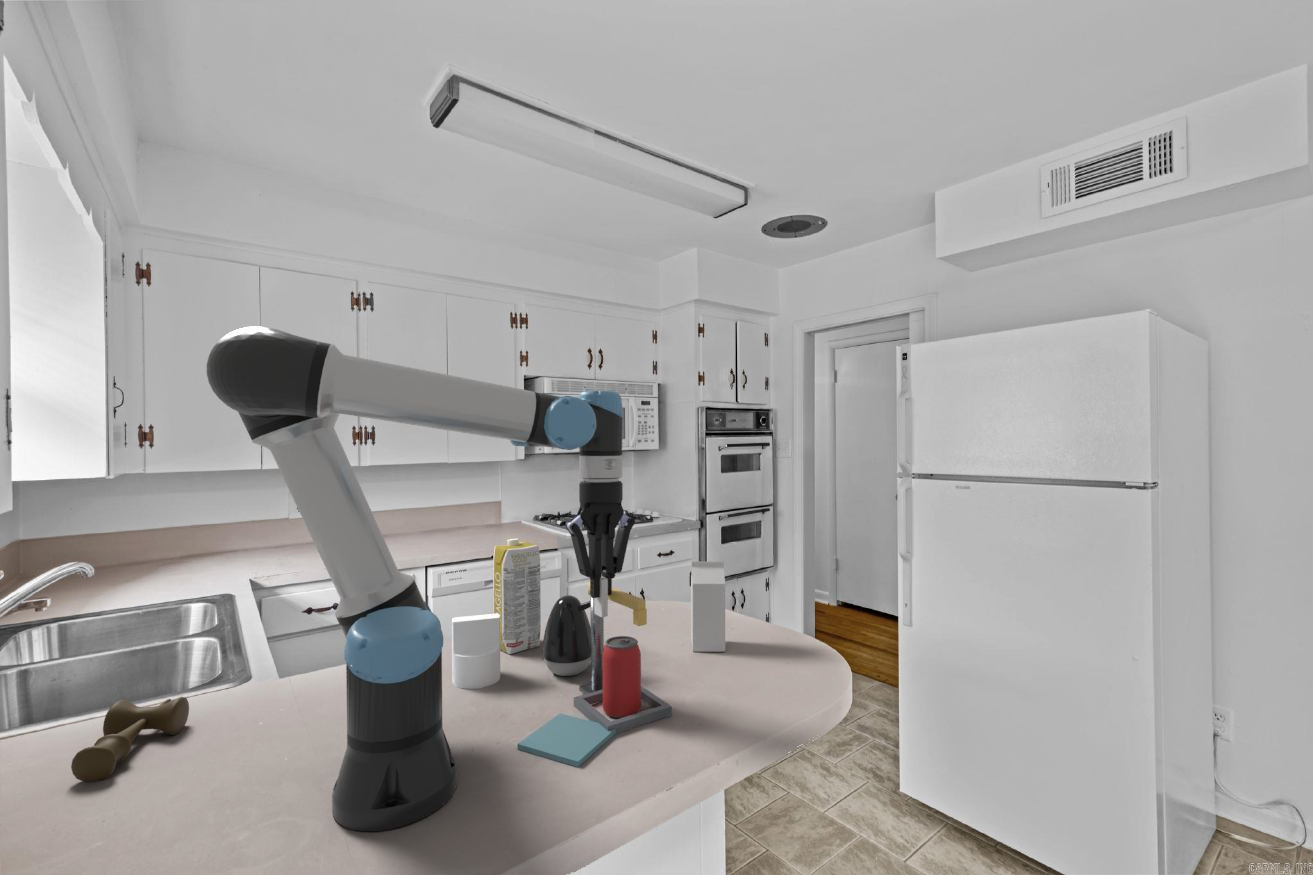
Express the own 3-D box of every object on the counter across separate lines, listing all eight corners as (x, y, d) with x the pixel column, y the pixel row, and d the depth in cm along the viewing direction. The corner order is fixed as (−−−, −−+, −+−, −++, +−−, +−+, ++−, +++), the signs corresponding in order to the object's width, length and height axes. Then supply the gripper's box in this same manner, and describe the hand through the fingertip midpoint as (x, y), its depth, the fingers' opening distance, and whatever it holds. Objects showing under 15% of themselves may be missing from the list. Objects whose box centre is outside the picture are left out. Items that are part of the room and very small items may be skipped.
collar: (672, 715, 102) (672, 706, 102) (607, 735, 95) (607, 726, 95) (633, 688, 112) (633, 680, 112) (573, 705, 105) (573, 697, 105)
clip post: (615, 693, 110) (615, 596, 110) (591, 699, 108) (591, 601, 107) (602, 683, 115) (602, 590, 114) (579, 689, 112) (578, 594, 112)
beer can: (648, 707, 105) (648, 639, 105) (626, 723, 99) (626, 651, 99) (617, 698, 108) (617, 632, 108) (594, 713, 103) (594, 643, 102)
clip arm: (650, 623, 101) (650, 598, 100) (634, 627, 99) (634, 601, 99) (599, 601, 113) (599, 579, 113) (585, 604, 111) (585, 582, 111)
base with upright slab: (498, 667, 123) (498, 608, 123) (502, 685, 114) (501, 622, 114) (452, 673, 120) (451, 613, 120) (452, 691, 111) (451, 627, 111)
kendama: (48, 792, 82) (136, 719, 101) (131, 784, 84) (202, 714, 103) (47, 749, 81) (136, 684, 101) (131, 742, 84) (202, 680, 103)
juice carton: (526, 637, 140) (526, 534, 140) (545, 646, 134) (544, 539, 134) (489, 647, 134) (488, 540, 133) (507, 657, 128) (506, 545, 128)
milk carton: (725, 652, 130) (725, 565, 130) (692, 652, 131) (692, 565, 130) (722, 640, 138) (722, 558, 137) (691, 640, 138) (691, 558, 137)
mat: (578, 767, 86) (578, 761, 86) (517, 749, 91) (517, 743, 91) (616, 732, 96) (616, 727, 96) (560, 717, 101) (560, 713, 101)
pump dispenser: (585, 683, 115) (585, 604, 114) (534, 679, 117) (533, 601, 116) (601, 663, 125) (600, 590, 124) (553, 659, 127) (553, 587, 126)
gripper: (577, 483, 98) (577, 627, 98) (643, 479, 105) (643, 614, 105) (558, 480, 104) (558, 615, 105) (621, 477, 111) (621, 604, 112)
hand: (601, 614), depth 105 cm, fingers closed
